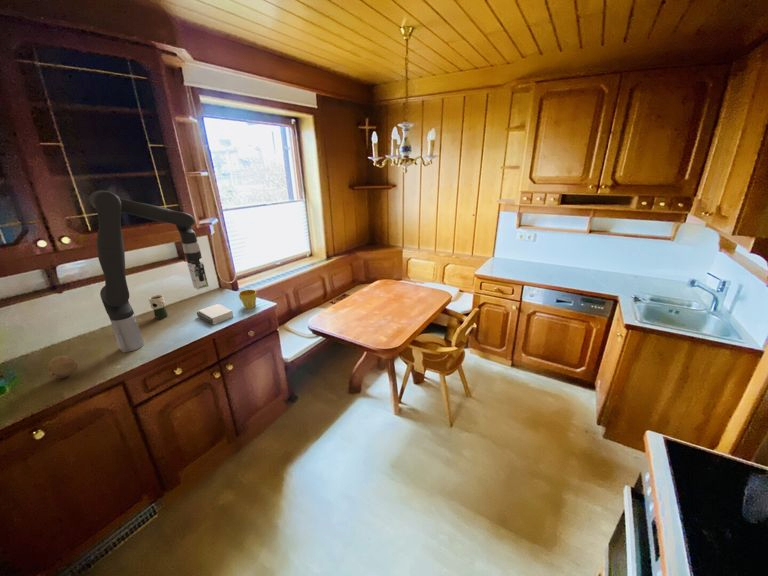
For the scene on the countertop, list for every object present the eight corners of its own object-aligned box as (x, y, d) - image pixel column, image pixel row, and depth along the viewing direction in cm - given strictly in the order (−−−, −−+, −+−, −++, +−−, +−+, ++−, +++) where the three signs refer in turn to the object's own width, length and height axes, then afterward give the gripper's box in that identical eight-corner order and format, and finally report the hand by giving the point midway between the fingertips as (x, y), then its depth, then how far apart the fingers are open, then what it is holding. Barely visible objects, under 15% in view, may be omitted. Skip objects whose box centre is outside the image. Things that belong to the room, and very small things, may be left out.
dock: (211, 325, 179) (210, 319, 177) (197, 317, 187) (196, 311, 186) (233, 316, 188) (232, 310, 187) (219, 309, 197) (218, 303, 196)
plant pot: (248, 311, 195) (245, 297, 191) (237, 307, 200) (235, 293, 196) (261, 305, 203) (259, 291, 199) (251, 301, 208) (249, 288, 204)
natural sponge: (86, 369, 140) (78, 350, 137) (71, 382, 132) (62, 362, 128) (63, 370, 139) (55, 351, 135) (46, 384, 131) (37, 364, 127)
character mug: (149, 317, 186) (143, 297, 181) (161, 312, 192) (155, 293, 187) (162, 321, 182) (156, 301, 177) (173, 316, 188) (168, 296, 183)
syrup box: (198, 290, 173) (191, 265, 167) (193, 287, 176) (187, 262, 170) (208, 286, 177) (203, 262, 171) (203, 284, 180) (197, 260, 175)
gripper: (178, 249, 169) (186, 278, 176) (191, 254, 161) (198, 284, 168) (192, 246, 175) (199, 275, 182) (205, 251, 167) (212, 280, 174)
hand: (199, 279), depth 175 cm, fingers closed on syrup box, 6 cm apart
